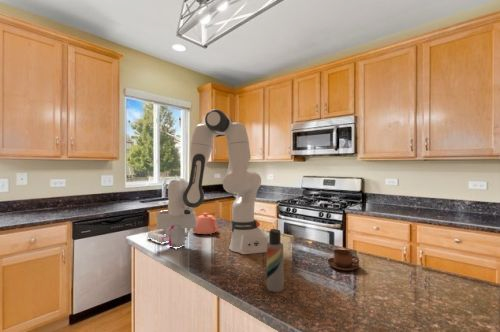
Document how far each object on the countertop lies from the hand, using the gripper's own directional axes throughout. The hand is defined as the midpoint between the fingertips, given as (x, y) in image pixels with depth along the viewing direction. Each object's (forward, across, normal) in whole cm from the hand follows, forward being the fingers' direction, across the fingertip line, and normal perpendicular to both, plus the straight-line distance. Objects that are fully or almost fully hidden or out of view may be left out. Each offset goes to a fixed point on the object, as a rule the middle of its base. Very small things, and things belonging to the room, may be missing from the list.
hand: (177, 237), depth 133 cm
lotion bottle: (+5, +44, -48) cm, 65 cm away
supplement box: (+5, 0, 0) cm, 5 cm away
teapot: (+5, +11, +27) cm, 29 cm away
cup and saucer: (+5, +74, -32) cm, 81 cm away
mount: (+5, -9, +14) cm, 18 cm away
